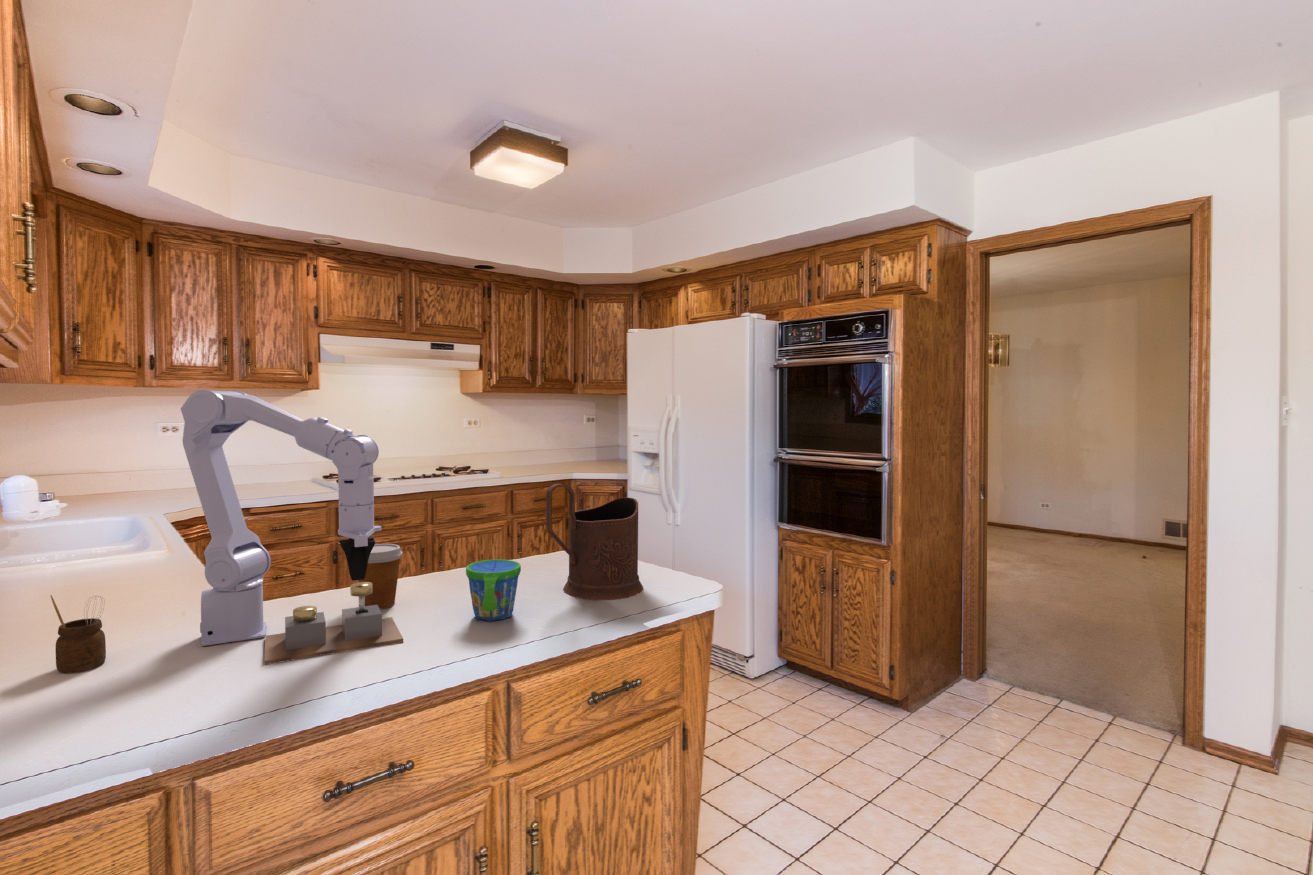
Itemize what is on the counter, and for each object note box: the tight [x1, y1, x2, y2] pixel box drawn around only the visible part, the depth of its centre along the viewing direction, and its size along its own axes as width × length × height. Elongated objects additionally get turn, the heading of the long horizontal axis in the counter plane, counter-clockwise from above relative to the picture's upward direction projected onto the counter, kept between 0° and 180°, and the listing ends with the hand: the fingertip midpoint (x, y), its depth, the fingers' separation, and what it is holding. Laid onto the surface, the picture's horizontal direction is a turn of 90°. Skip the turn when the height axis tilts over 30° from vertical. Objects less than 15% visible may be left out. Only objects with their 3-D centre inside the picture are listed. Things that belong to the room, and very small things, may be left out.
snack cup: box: [465, 559, 522, 622], centre depth 130 cm, size 16×10×10 cm
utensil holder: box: [50, 595, 107, 674], centre depth 103 cm, size 6×6×12 cm
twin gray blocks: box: [284, 605, 383, 650], centre depth 115 cm, size 15×6×4 cm, turn 120°
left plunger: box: [292, 605, 318, 621], centre depth 113 cm, size 4×4×6 cm
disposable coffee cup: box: [357, 543, 403, 610], centre depth 136 cm, size 10×10×12 cm
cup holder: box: [545, 483, 644, 601], centre depth 148 cm, size 18×24×25 cm
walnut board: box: [264, 617, 404, 665], centre depth 116 cm, size 21×13×1 cm, turn 120°
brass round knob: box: [349, 582, 372, 614], centre depth 118 cm, size 4×4×6 cm
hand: (357, 579), depth 117 cm, fingers closed
